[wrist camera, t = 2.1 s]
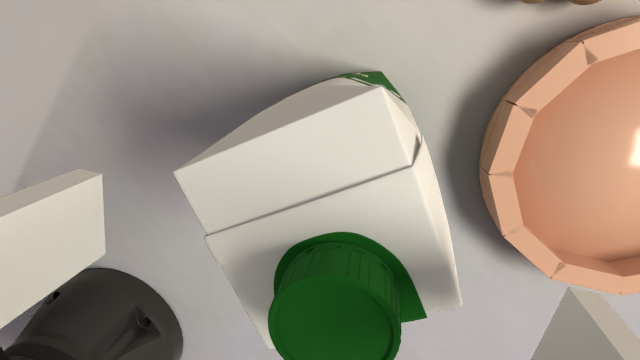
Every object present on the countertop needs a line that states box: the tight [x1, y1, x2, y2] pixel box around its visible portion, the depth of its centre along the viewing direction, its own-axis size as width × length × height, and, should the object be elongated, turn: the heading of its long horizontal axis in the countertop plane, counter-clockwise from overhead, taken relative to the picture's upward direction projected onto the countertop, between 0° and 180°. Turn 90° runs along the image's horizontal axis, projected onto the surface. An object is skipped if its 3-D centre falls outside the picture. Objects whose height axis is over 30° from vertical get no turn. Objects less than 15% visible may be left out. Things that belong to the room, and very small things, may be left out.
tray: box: [479, 16, 640, 295], centre depth 25 cm, size 19×19×3 cm
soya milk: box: [173, 72, 462, 360], centre depth 19 cm, size 9×9×20 cm
